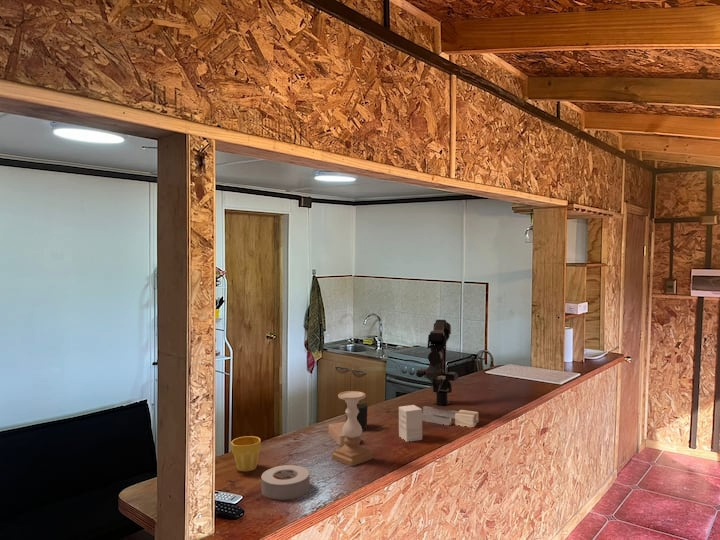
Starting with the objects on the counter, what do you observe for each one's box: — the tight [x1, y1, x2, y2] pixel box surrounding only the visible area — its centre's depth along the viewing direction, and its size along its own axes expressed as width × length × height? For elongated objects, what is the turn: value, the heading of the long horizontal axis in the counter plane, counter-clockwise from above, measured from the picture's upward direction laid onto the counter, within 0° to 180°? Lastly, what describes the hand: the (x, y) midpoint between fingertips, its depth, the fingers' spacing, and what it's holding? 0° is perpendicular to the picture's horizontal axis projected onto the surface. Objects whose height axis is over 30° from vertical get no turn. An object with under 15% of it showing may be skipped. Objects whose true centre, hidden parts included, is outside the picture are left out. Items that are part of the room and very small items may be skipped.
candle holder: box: [331, 390, 373, 467], centre depth 202 cm, size 11×11×24 cm
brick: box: [328, 421, 346, 447], centre depth 224 cm, size 17×8×5 cm, turn 20°
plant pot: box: [230, 435, 262, 472], centre depth 193 cm, size 10×10×10 cm
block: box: [454, 409, 479, 428], centre depth 242 cm, size 8×8×5 cm
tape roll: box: [260, 464, 311, 501], centre depth 176 cm, size 15×15×5 cm
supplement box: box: [398, 404, 423, 443], centre depth 224 cm, size 7×7×13 cm
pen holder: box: [345, 403, 369, 431], centre depth 238 cm, size 9×9×10 cm
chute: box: [422, 405, 460, 426], centre depth 250 cm, size 13×18×3 cm
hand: (437, 393), depth 253 cm, fingers closed
